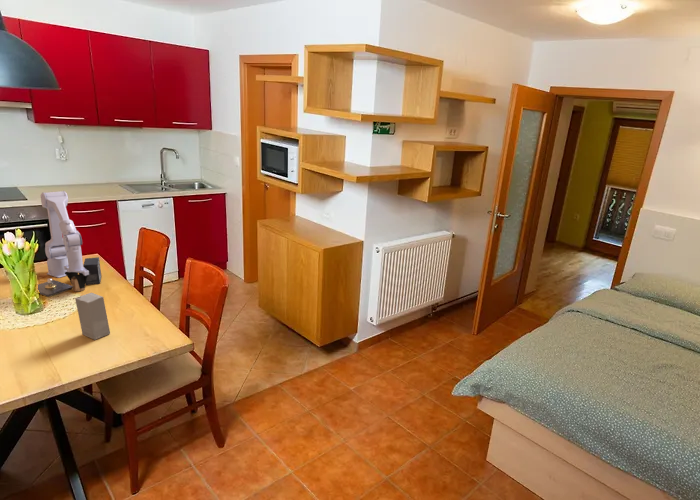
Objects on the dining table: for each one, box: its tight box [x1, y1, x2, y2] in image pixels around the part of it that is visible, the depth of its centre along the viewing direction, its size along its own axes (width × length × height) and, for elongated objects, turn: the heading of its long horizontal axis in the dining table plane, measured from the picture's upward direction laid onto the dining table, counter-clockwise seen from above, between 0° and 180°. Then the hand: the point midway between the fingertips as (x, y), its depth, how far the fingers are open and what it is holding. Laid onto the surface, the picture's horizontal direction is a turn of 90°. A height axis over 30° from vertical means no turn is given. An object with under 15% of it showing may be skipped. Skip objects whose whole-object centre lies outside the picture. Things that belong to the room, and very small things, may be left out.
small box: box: [83, 257, 102, 286], centre depth 217 cm, size 11×6×10 cm, turn 25°
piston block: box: [37, 278, 73, 298], centre depth 205 cm, size 15×12×5 cm
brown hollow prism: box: [70, 276, 86, 292], centre depth 206 cm, size 5×5×6 cm
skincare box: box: [74, 292, 111, 341], centre depth 166 cm, size 8×7×16 cm
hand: (78, 286), depth 206 cm, fingers closed on brown hollow prism, 5 cm apart
